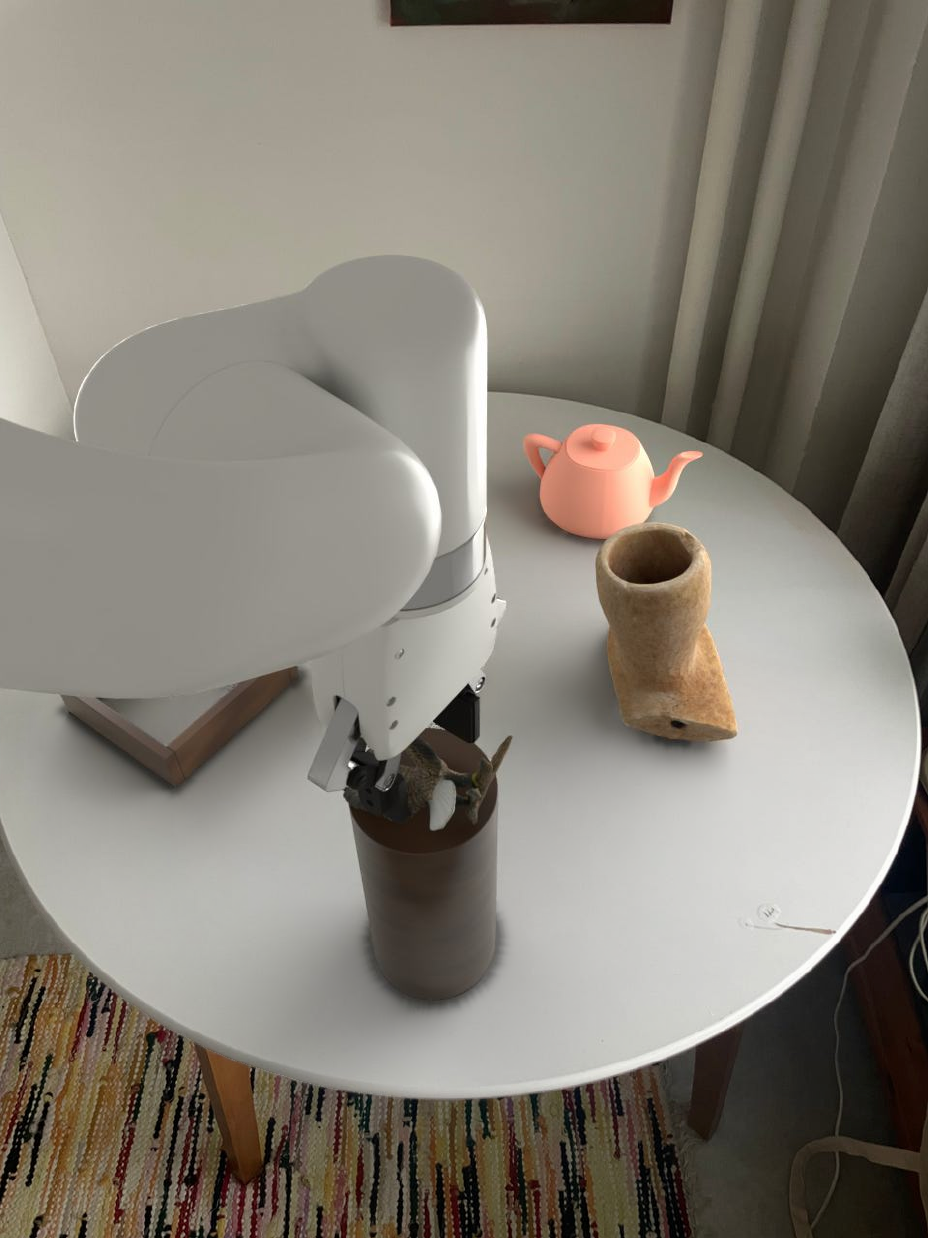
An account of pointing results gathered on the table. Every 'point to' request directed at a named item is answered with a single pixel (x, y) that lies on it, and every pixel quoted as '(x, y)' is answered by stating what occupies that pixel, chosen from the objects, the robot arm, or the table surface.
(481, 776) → the eagle figurine
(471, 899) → the stand
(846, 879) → the table surface
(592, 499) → the teapot
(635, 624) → the tan boot-shaped piece
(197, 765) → the crate
